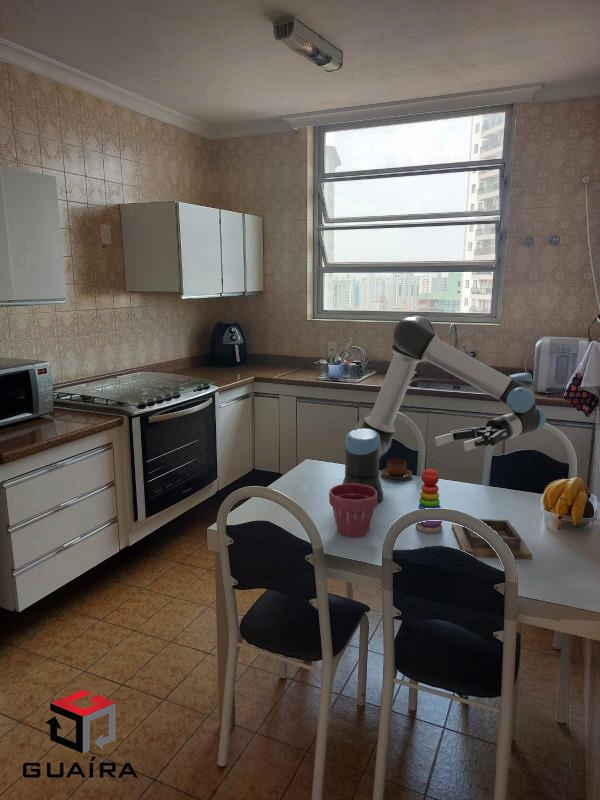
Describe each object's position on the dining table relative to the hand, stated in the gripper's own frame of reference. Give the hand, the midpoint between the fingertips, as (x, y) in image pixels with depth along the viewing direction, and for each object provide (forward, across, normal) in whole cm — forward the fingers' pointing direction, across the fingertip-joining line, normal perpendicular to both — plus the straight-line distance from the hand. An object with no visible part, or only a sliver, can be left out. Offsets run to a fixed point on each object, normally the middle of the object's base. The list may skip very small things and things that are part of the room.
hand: (449, 444), depth 168 cm
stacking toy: (+12, +1, -24) cm, 27 cm away
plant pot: (+34, +8, -20) cm, 40 cm away
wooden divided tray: (+2, -14, -27) cm, 31 cm away
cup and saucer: (-7, +46, -20) cm, 51 cm away
